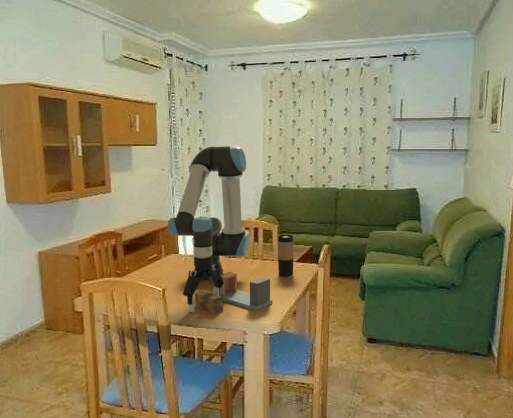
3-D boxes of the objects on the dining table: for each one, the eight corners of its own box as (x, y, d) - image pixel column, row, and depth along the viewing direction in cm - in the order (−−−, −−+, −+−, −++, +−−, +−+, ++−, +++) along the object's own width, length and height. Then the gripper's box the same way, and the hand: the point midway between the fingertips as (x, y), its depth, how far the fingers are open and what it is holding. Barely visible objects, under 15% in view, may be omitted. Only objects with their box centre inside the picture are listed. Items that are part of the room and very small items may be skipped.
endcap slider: (216, 293, 193) (215, 276, 192) (230, 288, 200) (229, 272, 199) (223, 295, 191) (222, 278, 190) (237, 290, 197) (236, 273, 196)
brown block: (195, 307, 183) (194, 293, 182) (202, 304, 186) (202, 290, 185) (215, 314, 175) (215, 299, 174) (222, 311, 178) (222, 296, 177)
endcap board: (211, 297, 194) (210, 273, 192) (229, 290, 202) (228, 267, 200) (255, 310, 178) (254, 284, 176) (272, 303, 186) (272, 278, 184)
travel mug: (277, 273, 229) (277, 234, 226) (292, 272, 229) (292, 234, 226) (279, 277, 221) (279, 237, 218) (294, 276, 222) (294, 237, 219)
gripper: (185, 263, 167) (187, 318, 170) (231, 251, 186) (232, 300, 189) (172, 260, 172) (174, 313, 175) (218, 249, 191) (219, 297, 194)
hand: (204, 307), depth 182 cm, fingers open, 13 cm apart
